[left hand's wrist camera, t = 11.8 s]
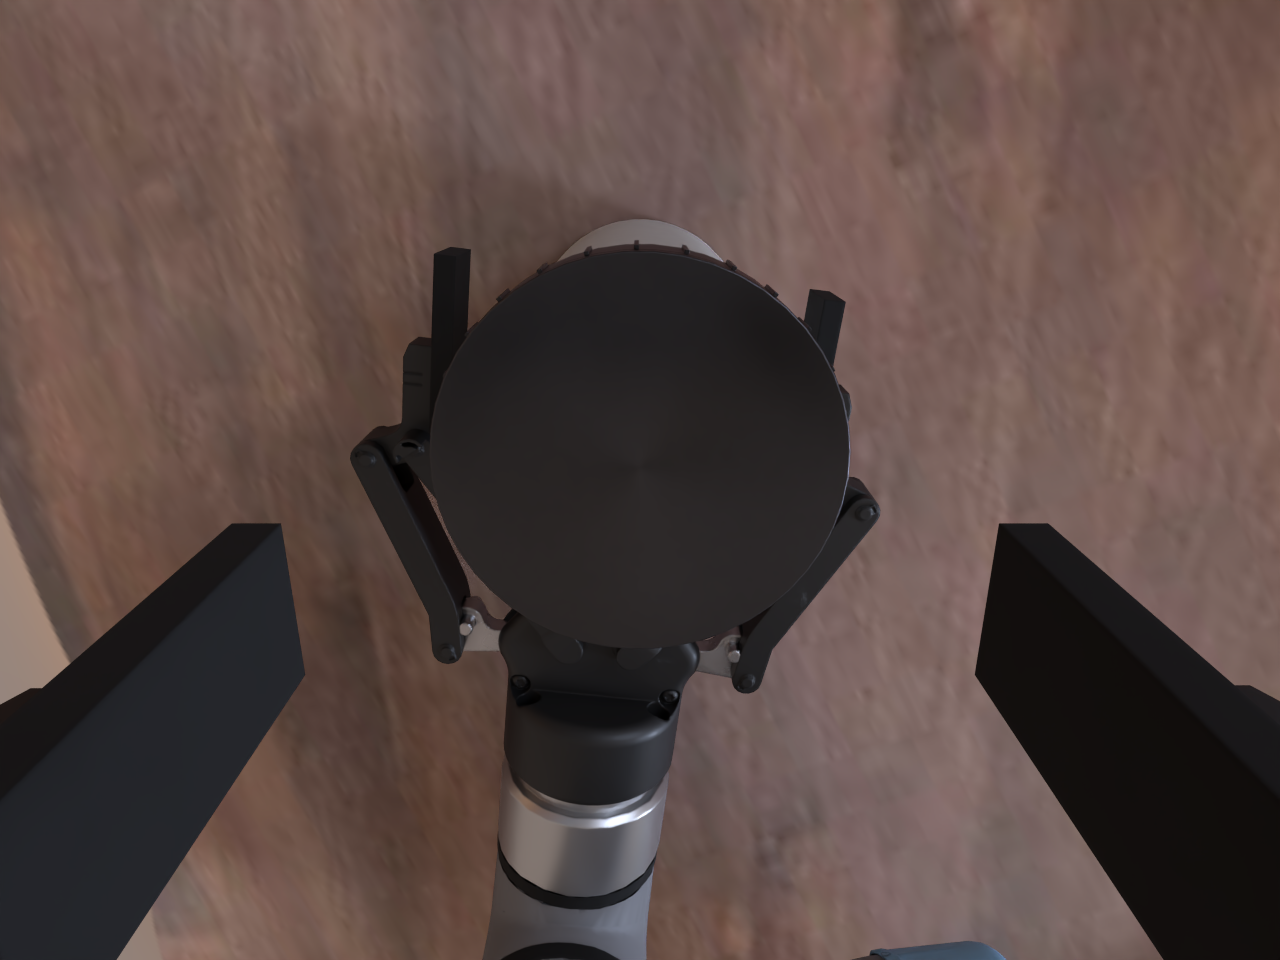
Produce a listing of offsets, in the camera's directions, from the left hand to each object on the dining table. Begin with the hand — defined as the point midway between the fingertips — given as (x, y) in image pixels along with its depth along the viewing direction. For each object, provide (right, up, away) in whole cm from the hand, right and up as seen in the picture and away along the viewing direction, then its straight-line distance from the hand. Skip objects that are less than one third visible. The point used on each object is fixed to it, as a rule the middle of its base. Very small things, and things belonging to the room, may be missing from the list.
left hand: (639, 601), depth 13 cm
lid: (0, +2, +6) cm, 7 cm away
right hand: (0, +9, +17) cm, 19 cm away
